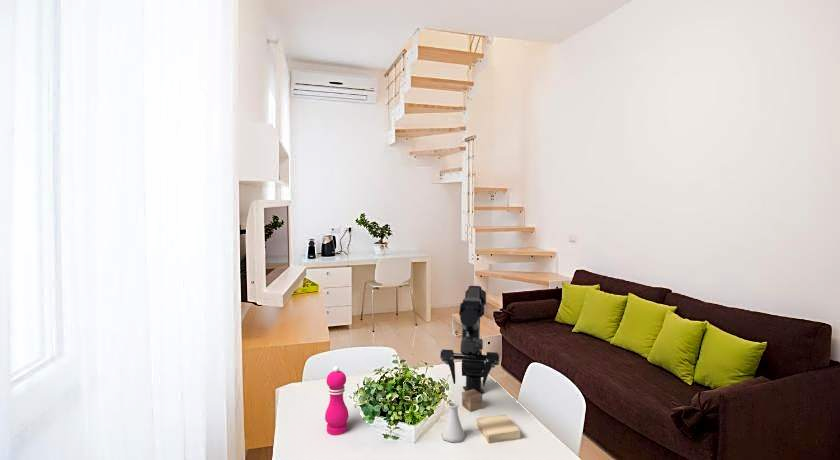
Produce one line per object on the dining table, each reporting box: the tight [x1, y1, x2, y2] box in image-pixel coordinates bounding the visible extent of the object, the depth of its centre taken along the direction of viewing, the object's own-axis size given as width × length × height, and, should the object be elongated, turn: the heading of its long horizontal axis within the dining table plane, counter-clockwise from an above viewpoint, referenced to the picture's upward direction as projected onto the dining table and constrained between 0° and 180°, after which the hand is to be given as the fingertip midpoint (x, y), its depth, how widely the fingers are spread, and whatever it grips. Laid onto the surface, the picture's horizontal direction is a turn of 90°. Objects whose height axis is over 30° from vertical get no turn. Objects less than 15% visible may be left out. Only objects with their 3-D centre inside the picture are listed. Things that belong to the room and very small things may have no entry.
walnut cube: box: [461, 389, 483, 413], centre depth 141 cm, size 5×5×5 cm
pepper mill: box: [324, 365, 350, 436], centre depth 127 cm, size 7×7×20 cm
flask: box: [441, 401, 466, 443], centre depth 123 cm, size 7×7×10 cm
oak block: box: [476, 414, 521, 444], centre depth 125 cm, size 10×10×3 cm
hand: (468, 384), depth 129 cm, fingers open, 9 cm apart
